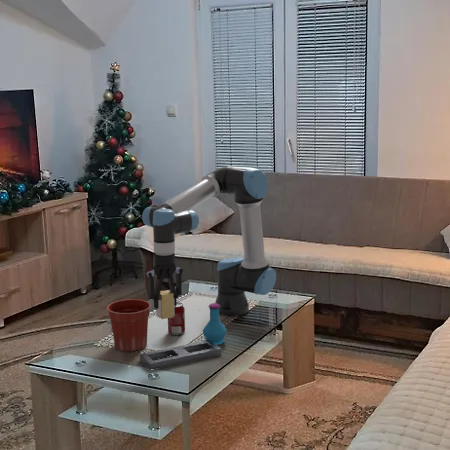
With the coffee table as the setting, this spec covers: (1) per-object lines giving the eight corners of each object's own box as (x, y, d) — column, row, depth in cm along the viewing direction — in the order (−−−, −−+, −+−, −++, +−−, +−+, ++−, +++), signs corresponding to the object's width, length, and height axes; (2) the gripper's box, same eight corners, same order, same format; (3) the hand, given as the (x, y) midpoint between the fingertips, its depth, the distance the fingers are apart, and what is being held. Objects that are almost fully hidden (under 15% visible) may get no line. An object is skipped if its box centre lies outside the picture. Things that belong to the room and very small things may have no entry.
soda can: (182, 336, 278) (181, 307, 275) (166, 335, 279) (165, 306, 277) (186, 330, 284) (186, 302, 282) (170, 329, 286) (169, 301, 283)
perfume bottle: (230, 338, 275) (229, 302, 272) (222, 347, 266) (221, 309, 263) (207, 336, 278) (207, 299, 275) (199, 344, 269) (198, 307, 266)
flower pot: (119, 357, 258) (117, 316, 254) (102, 343, 271) (99, 304, 268) (159, 348, 266) (158, 307, 263) (140, 335, 280) (139, 296, 277)
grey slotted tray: (209, 346, 268) (209, 339, 267) (221, 355, 259) (221, 348, 258) (140, 360, 255) (139, 354, 254) (150, 370, 246) (150, 363, 246)
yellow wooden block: (168, 313, 258) (168, 290, 256) (173, 317, 254) (173, 293, 252) (157, 315, 256) (156, 291, 254) (162, 319, 252) (161, 294, 250)
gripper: (182, 248, 257) (183, 309, 262) (137, 253, 250) (138, 316, 254) (191, 252, 251) (191, 315, 255) (144, 257, 243) (146, 322, 248)
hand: (165, 315), depth 255 cm, fingers closed on yellow wooden block, 4 cm apart
